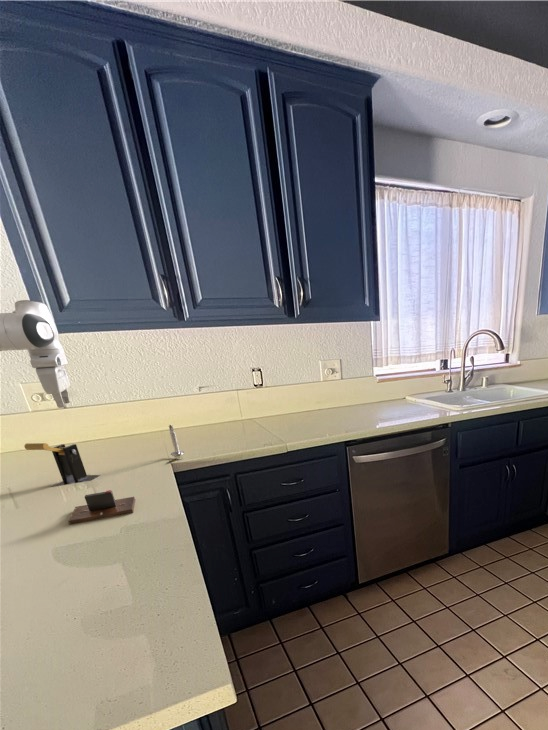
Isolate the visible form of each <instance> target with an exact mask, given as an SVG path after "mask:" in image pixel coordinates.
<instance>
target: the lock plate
mask: <svg viewBox="0 0 548 730" xmlns="http://www.w3.org/2000/svg"><path fill="white" fill-rule="evenodd" d="M115 502H116V506H115V507H110V508H104V509H99V510H93V511H89V508H88V505H87V504H85V505H79V506H74V509H73V511H72V513H71V515H70V517H69V519H68V524H69V526H71V525H77V524H81V523H86V522H87V523H88V522H91V521H92V522H93V521H96V520H97V521H98V520H104V519H108V518H113V517H119V516H124V515H129V514H134V511H135V504H136V497H135V496H129V497H123V498H117V499H115Z"/></svg>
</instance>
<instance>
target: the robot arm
mask: <svg viewBox="0 0 548 730" xmlns="http://www.w3.org/2000/svg"><path fill="white" fill-rule="evenodd" d="M14 309H15V310H13V311H12V312H2V313H1V312H0V352H3V351H4V352H6V351H7V352H8V351H9V352H10V351H26V350H27V352H28V355H29V359H30V360H29V362H30V365H31V367H32V369H35V372H36V375H37V378H38V380H39V382H40V384H41V386H42V389H43V390H44V392H45V394H46V395H51V396H52V398H53V400H54V402H55V404H56V407H57V408H58V409H62V408H65V407H66V404H70V403H71V400H70V399H71V398H70V395H69V394H70V393H69V390H68V389H69V388H71V382H70V379H69V375H68V373H67V370H66V367H65V366H66V365H69V362H68V359H67V356H66V353H65V350H64V347H63V344H61V341H60V339H59V331H58V328H57V324H56V322H55V319H54V317H53V316H52V313H51V311H50V309H49V307H48V306H47V304H45V303H44V302H41V301H39V300H38V301H37V300H29V299H23V300H22V299H21V300H17V301H15V302H14Z"/></svg>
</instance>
